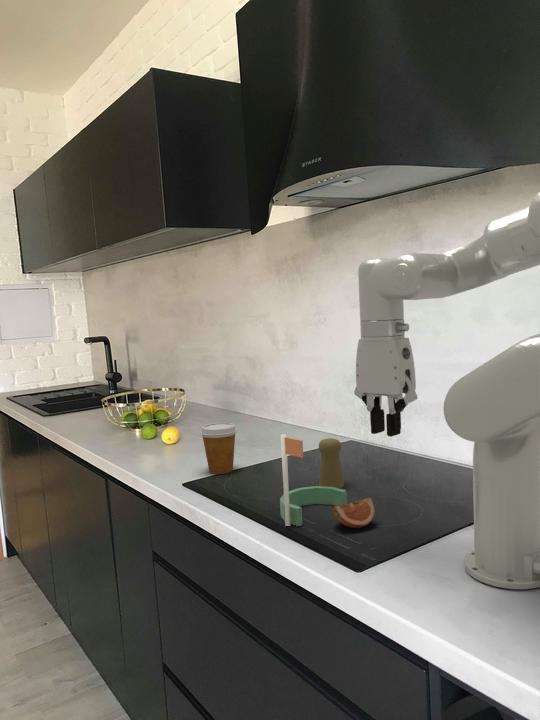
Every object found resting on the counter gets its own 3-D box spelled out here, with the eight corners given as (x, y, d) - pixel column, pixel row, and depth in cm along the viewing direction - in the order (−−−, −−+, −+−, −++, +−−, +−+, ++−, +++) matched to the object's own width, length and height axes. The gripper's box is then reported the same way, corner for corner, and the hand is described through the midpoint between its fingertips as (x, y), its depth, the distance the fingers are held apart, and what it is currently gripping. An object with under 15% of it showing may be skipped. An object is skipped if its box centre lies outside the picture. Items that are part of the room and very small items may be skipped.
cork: (349, 484, 138) (347, 438, 137) (334, 490, 134) (332, 443, 133) (328, 479, 142) (326, 435, 141) (313, 486, 138) (311, 440, 137)
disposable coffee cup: (232, 464, 161) (230, 420, 160) (243, 472, 152) (241, 427, 151) (199, 469, 158) (196, 425, 157) (208, 478, 149) (205, 431, 148)
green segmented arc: (358, 510, 120) (355, 423, 119) (304, 533, 110) (299, 438, 108) (315, 497, 130) (312, 417, 128) (261, 517, 119) (256, 430, 117)
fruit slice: (343, 536, 108) (342, 510, 107) (325, 524, 114) (324, 499, 113) (381, 527, 111) (380, 501, 111) (362, 516, 117) (361, 492, 117)
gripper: (434, 328, 99) (437, 435, 101) (359, 329, 111) (363, 424, 113) (408, 331, 94) (412, 444, 96) (333, 332, 106) (337, 432, 108)
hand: (385, 432), depth 104 cm, fingers open, 2 cm apart
